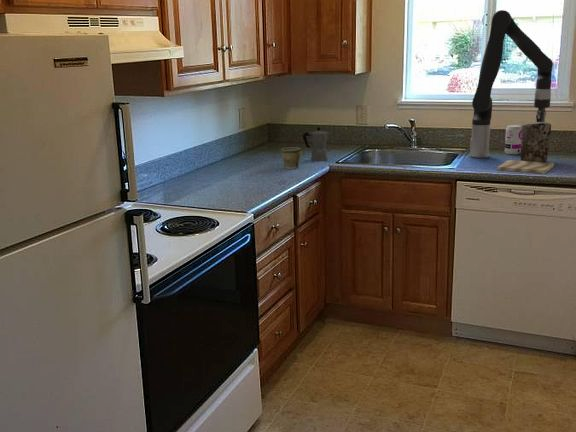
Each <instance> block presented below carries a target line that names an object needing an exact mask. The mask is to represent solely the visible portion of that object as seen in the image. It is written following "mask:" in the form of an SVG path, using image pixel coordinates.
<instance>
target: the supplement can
mask: <svg viewBox="0 0 576 432" xmlns="http://www.w3.org/2000/svg"><path fill="white" fill-rule="evenodd" d="M521 138H522V125H518V124H509V125H507V126H506V128H505V140H504V141H505V142H504V152H505V154H507V155H520V154H521V142H522V141H521Z"/></svg>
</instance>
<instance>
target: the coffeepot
mask: <svg viewBox="0 0 576 432" xmlns="http://www.w3.org/2000/svg"><path fill="white" fill-rule="evenodd" d="M330 135H331V132H330V131H329V132H328V131H324V130H321V127H319V126H318V127H317V130H315V131H312V132H311V131H309V132H304V134H303V135H302V138H303V141H304V144H305V146H306V148H311V146H312V150H311V157H310V161H311V160H312V161H311V162H314V161H323V162H326V160H327V161H328V154H327V148H326V145H327V140H328V138H329V136H330ZM307 137H310V140H311V145H309V143H308V140H307Z"/></svg>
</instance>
